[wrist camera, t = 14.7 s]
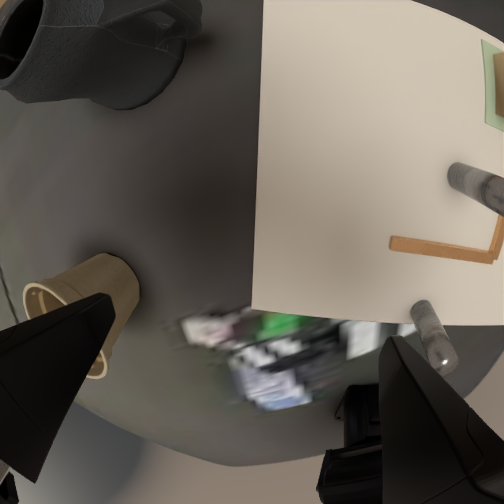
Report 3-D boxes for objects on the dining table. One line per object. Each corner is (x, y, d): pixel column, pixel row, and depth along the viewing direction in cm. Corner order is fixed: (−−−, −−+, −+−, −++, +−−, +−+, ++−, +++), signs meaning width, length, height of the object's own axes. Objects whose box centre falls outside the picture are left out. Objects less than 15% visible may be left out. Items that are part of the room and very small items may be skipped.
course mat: (504, 322, 18) (507, 325, 18) (252, 306, 22) (251, 310, 22) (552, 81, 8) (556, 81, 7) (265, -18, 12) (264, -22, 11)
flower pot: (140, 335, 27) (99, 393, 19) (75, 284, 26) (25, 328, 18) (171, 277, 23) (116, 345, 15) (90, 217, 22) (21, 258, 14)
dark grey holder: (89, 120, 18) (-26, 140, 8) (93, 27, 14) (-10, 9, 4) (226, 96, 16) (122, 65, 6) (226, -13, 12) (153, -101, 2)
